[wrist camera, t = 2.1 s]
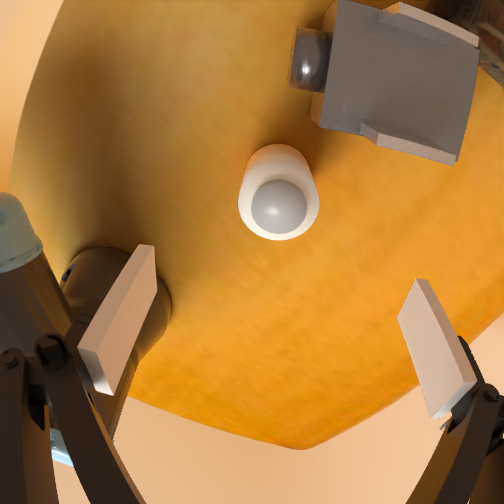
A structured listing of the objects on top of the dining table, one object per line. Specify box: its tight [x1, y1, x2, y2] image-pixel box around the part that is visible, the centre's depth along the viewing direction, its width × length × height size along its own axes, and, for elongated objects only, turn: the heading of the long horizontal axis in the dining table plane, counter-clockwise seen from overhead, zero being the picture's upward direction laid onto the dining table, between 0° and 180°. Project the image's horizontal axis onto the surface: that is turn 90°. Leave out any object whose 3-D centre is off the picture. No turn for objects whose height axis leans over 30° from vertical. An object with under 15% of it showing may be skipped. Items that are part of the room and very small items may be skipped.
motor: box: [287, 0, 480, 166], centre depth 19 cm, size 14×10×10 cm
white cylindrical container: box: [238, 144, 319, 240], centre depth 26 cm, size 6×6×8 cm
